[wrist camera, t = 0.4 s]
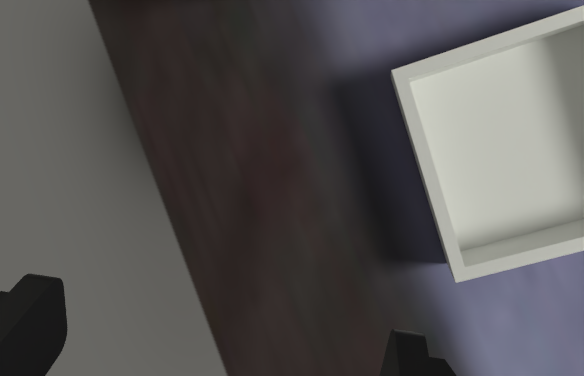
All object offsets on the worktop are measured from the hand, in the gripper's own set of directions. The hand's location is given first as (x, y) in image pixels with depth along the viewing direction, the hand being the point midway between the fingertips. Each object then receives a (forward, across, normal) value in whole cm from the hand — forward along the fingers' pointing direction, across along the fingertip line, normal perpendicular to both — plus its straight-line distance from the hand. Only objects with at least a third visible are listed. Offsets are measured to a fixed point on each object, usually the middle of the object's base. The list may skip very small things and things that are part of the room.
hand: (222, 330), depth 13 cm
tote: (+25, -15, +2) cm, 30 cm away
